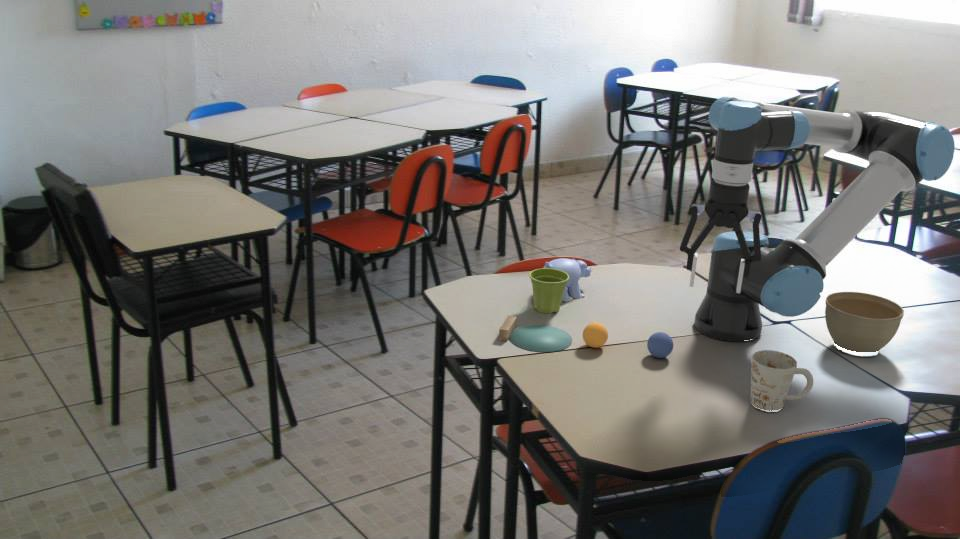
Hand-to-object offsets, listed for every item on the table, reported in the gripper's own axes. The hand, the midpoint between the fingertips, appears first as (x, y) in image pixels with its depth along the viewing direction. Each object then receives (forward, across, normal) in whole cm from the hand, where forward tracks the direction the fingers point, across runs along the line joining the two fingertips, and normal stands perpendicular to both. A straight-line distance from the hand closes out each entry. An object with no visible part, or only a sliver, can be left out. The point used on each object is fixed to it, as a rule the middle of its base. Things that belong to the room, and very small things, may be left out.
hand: (714, 287), depth 188 cm
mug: (+18, +15, -14) cm, 27 cm away
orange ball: (+15, -24, 0) cm, 28 cm away
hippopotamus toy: (+18, -36, +30) cm, 50 cm away
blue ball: (+15, -10, 0) cm, 17 cm away
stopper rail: (+17, -43, 0) cm, 46 cm away
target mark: (+17, -36, 0) cm, 40 cm away
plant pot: (+18, -38, +17) cm, 45 cm away
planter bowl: (+18, +32, +20) cm, 42 cm away
